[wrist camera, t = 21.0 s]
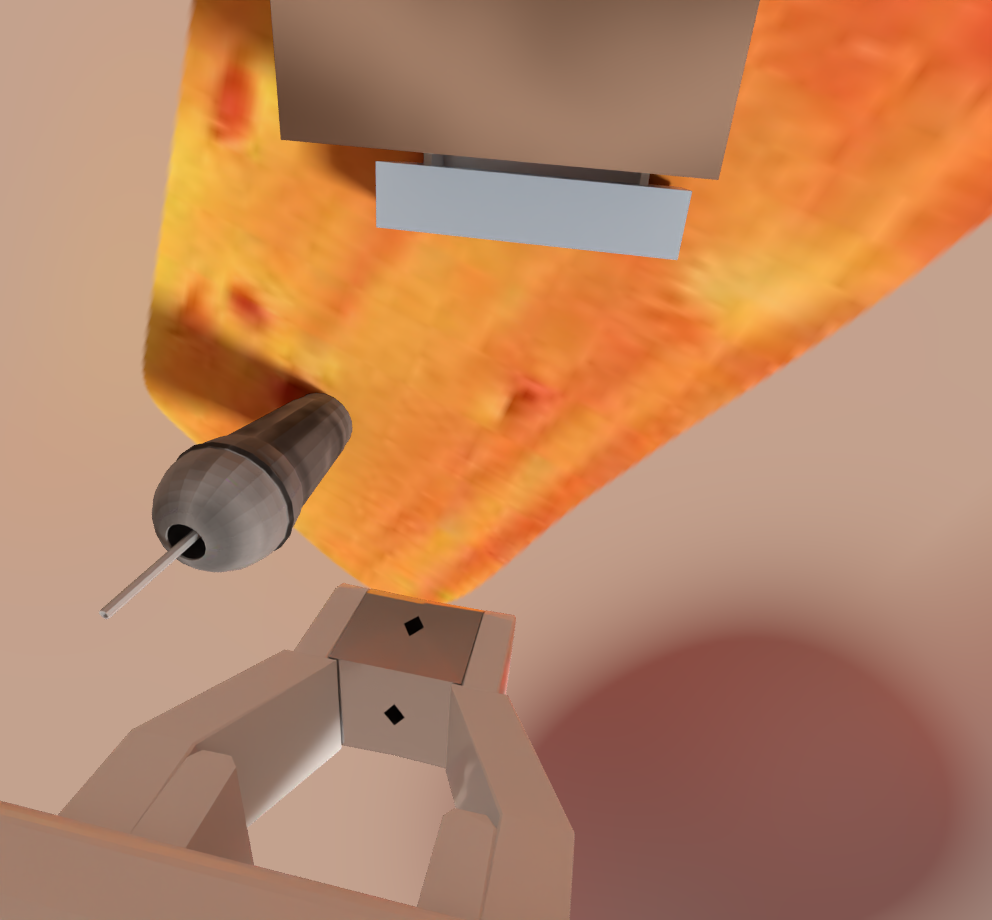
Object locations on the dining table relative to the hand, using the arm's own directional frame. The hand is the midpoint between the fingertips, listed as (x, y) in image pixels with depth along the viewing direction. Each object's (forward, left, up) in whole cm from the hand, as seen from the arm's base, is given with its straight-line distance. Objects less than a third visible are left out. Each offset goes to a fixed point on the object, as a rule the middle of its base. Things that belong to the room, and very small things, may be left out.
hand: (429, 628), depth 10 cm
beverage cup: (+11, -16, -29) cm, 35 cm away
